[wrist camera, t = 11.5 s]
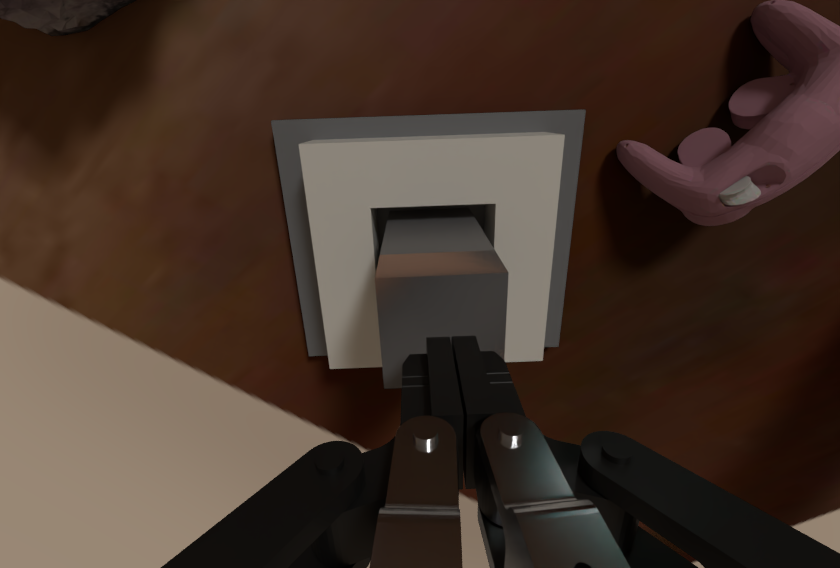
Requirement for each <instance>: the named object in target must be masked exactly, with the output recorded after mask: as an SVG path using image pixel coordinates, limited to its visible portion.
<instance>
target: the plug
mask: <svg viewBox="0 0 840 568" xmlns="http://www.w3.org/2000/svg"><path fill="white" fill-rule="evenodd" d="M508 275H509V273H508V271H507V269H506V268H505V266H504V264H503V263H502V261H501V259H500V258H499V256H498V255H497V253H496V251H495V250H494V248H493V246H492V245H491V243H490V241H489V240H488V238H487V237H486V235H485V233H484V232H483V230H482V228H481V227H480V225H479V223H478V222H477V220H476V219H475V217H474V215H473V214H472V212H471V210H470V209H469V208H447V209H423V210H399V211H389V215H388V220H387V224H386V229H385V233H384V238H383V242H382V247H381V252H380V256H379V261H378V265H377V270H376V274H375V288H376V300H377V312H378V323H379V335H380V346H381V358H382V369H383V381H384V389H390V388H402V364H403V363H404V362H405V360H406V359H407V357H408V356H409V355H410V354H427V351H426V337H450V341H451V338H452V336H473V335H475V336H476V338H477V342H478V345H479V348H480V351H495V352H496V353H497V354H498V355H499V356H500V357H501V358H502V359H504V355H505V335H506V315H507V295H508Z"/></svg>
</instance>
